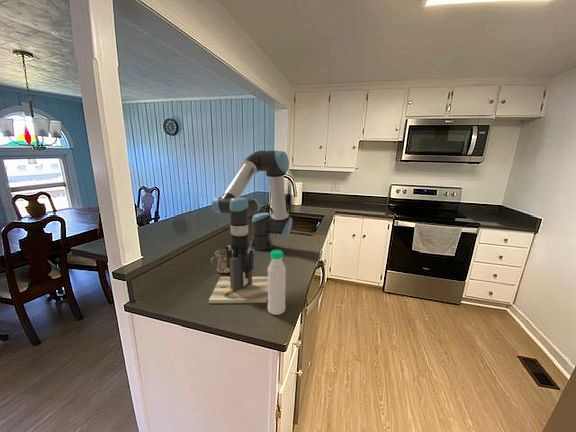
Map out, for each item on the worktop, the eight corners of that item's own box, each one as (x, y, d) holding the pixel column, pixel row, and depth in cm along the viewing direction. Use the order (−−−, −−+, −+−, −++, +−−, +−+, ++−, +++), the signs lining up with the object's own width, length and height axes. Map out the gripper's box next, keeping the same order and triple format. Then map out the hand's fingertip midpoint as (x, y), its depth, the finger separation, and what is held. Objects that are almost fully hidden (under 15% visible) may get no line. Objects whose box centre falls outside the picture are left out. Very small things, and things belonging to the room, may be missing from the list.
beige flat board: (220, 279, 118) (220, 276, 118) (269, 279, 119) (268, 276, 119) (209, 303, 99) (208, 299, 98) (267, 302, 100) (267, 299, 99)
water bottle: (285, 304, 98) (286, 247, 93) (285, 315, 92) (286, 254, 86) (268, 304, 98) (267, 247, 92) (267, 315, 91) (266, 254, 86)
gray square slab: (222, 293, 103) (221, 261, 99) (248, 281, 113) (247, 252, 109) (226, 295, 101) (224, 262, 98) (252, 283, 111) (251, 253, 108)
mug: (228, 265, 134) (227, 247, 132) (237, 270, 128) (236, 252, 125) (207, 271, 126) (206, 253, 124) (216, 278, 120) (215, 258, 117)
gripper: (217, 233, 102) (219, 283, 107) (253, 238, 96) (254, 291, 102) (226, 229, 109) (228, 276, 114) (261, 233, 103) (261, 282, 109)
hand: (240, 283), depth 108 cm, fingers closed on gray square slab, 4 cm apart
